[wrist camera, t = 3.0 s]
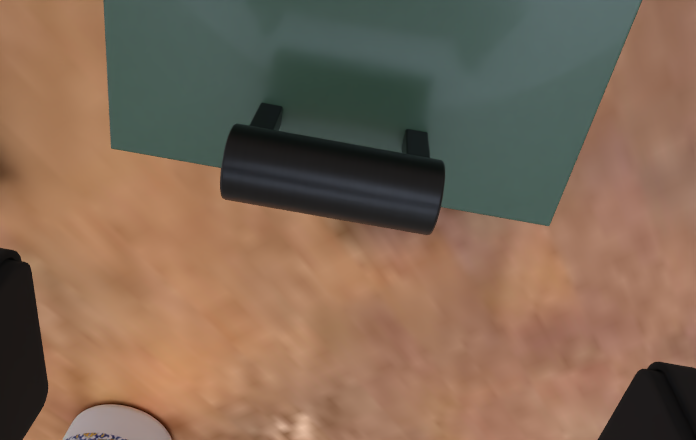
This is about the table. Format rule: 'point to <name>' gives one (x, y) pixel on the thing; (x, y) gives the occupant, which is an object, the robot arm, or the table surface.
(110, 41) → the chest lid
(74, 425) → the bath foam
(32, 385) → the robot arm
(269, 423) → the table surface
